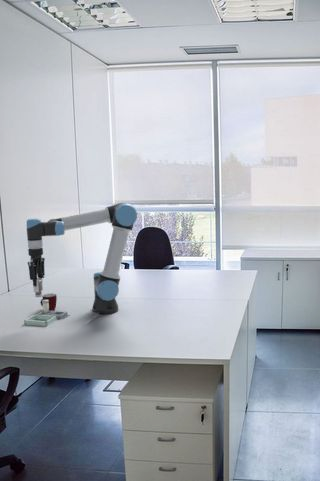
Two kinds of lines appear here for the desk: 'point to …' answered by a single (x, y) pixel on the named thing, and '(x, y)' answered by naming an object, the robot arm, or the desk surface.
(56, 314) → the block
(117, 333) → the desk surface
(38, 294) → the fuse
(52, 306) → the mug
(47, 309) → the fuse
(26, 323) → the tray
